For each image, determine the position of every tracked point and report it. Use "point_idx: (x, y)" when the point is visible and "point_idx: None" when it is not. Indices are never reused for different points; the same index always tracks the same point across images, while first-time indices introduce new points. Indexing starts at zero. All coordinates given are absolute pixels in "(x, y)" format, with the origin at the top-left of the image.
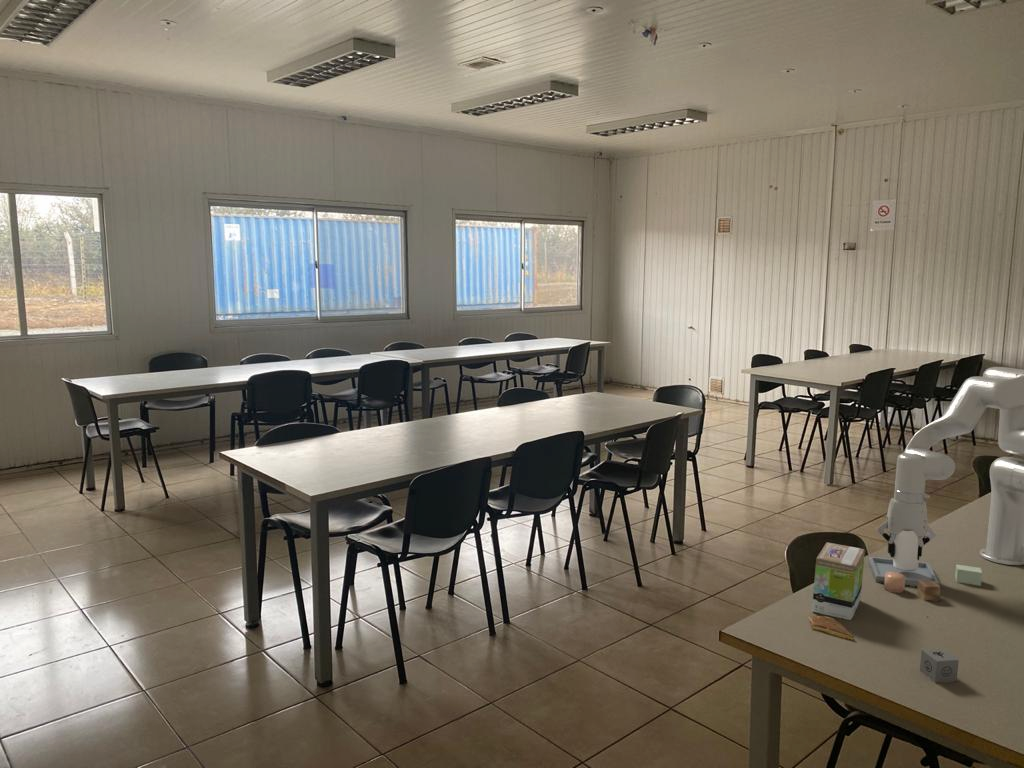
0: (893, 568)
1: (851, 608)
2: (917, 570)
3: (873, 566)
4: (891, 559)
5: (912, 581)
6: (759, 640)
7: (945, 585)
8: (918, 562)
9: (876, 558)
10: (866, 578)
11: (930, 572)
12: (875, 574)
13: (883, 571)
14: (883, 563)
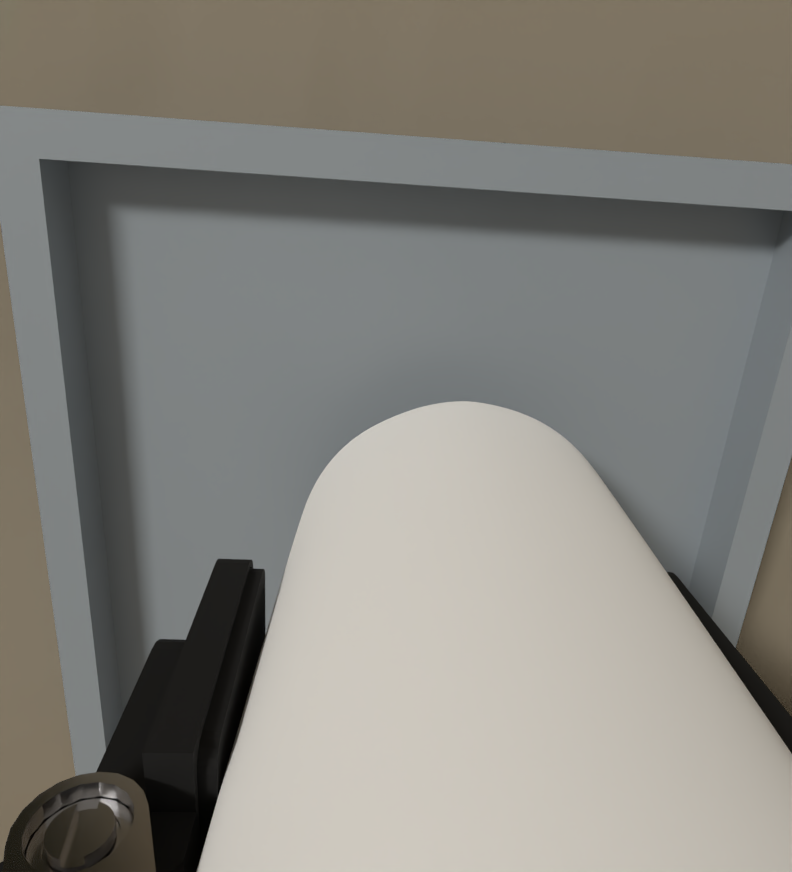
0: (335, 380)
1: None
2: (627, 367)
3: (52, 543)
4: (340, 166)
5: None
6: None
7: (766, 649)
8: (728, 197)
9: (107, 162)
10: (13, 687)
11: (731, 535)
12: (76, 745)
13: (195, 517)
14: (228, 209)
